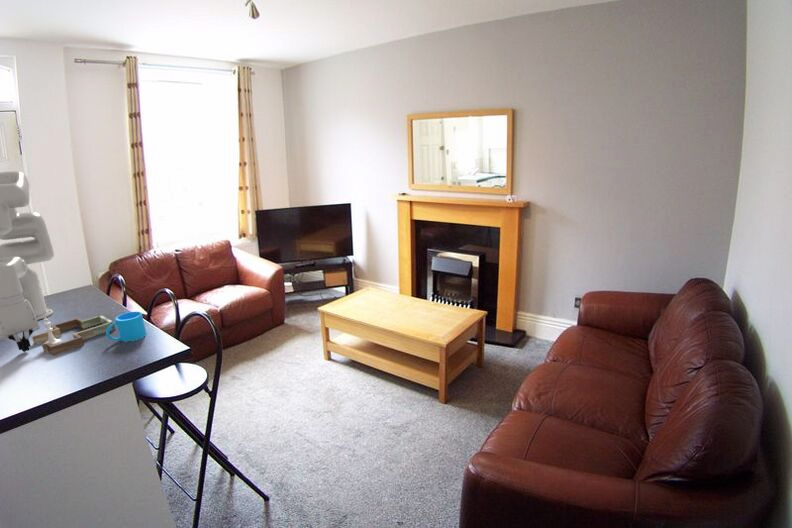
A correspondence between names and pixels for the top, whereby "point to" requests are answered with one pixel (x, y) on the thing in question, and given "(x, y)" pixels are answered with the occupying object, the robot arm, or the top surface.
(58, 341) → the chess piece
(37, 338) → the box
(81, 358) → the top surface
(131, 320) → the mug
